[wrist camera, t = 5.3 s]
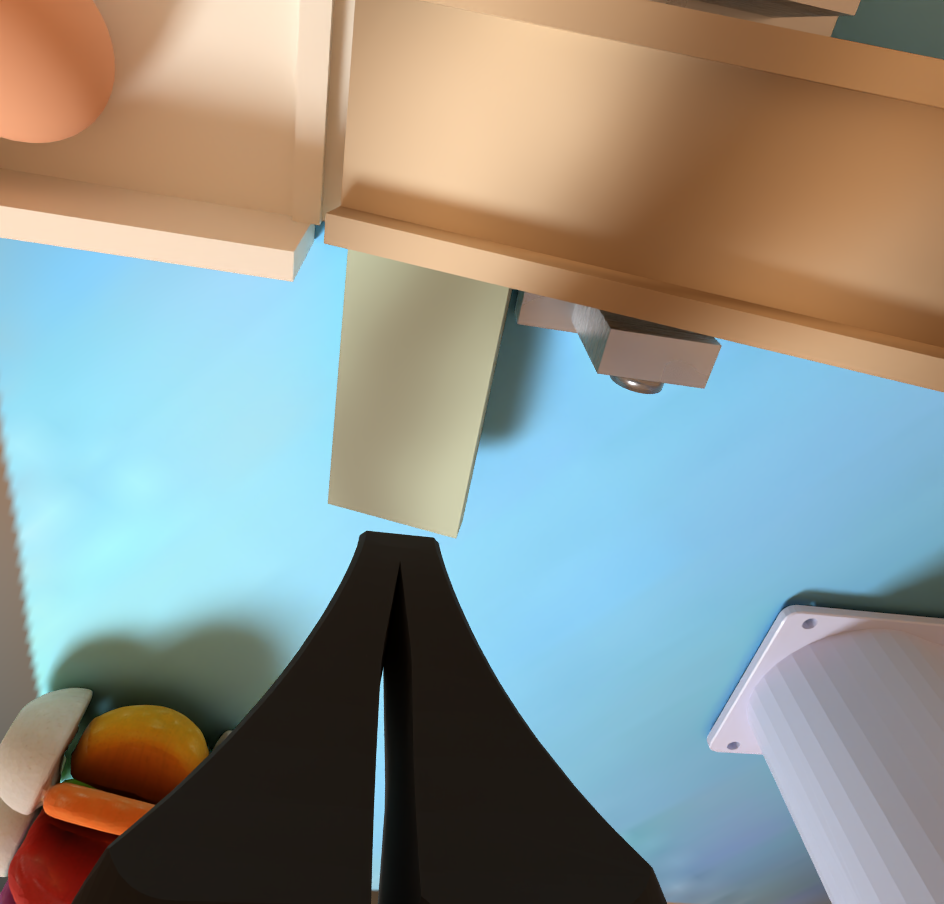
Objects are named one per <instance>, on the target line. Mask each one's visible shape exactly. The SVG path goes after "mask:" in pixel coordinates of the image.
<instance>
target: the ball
mask: <svg viewBox="0 0 944 904" xmlns="http://www.w3.org/2000/svg"><path fill="white" fill-rule="evenodd" d="M114 77H115V58H114V51H113V46H112V42H111V38H110V35H109V32H108V29H107V26H106V24H105V22H104V20H103V18H102V15H101V13H100V12H99V10H98V8H97V7H96V5H95V3H94V2H93V0H0V137H2V138H6V139H9V140H13V141H20V142H27V143H48V142H55V141H60V140H63V139H66V138H69V137H72V136H74V135H76V134H78V133H80V132H81V131H83V130H85V129H86V128H88V127H89V126H90V125H91V124H92V123H93V122H95V120H96V119H97V118H98V117H99V115H100V114H101V113H102V112H103V110H104V108H105V107H106V105H107V103H108V101H109V98H110V95H111V92H112V88H113V84H114Z"/></svg>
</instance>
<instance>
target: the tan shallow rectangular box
mask: <svg viewBox="0 0 944 904" xmlns="http://www.w3.org/2000/svg"><path fill="white" fill-rule="evenodd" d="M93 2H94V3H95V5H96V7H97V8H98V10H99V12H100V13H101V15H102V18H103V20H104V22H105V24H106V26H107V29H108V32H109V35H110V38H111V42H112V46H113V51H114V58H115V77H114V84H113V88H112V92H111V95H110V98H109V101H108V103H107V105H106V107H105V108H104V110H103V112H102V113H101V114H100V115H99V117H98V118H97V119H96V120H95V122H93V123H92V124H91V125H90V126H89V127H88V128H86V129H85V130H83V131H81V132H80V133H78V134H76V135H74V136H72V137H69V138H66V139H63V140H60V141H55V142H48V143H27V142H20V141H13V140H9V139H6V138H2V137H0V237H1V238H8V239H15V240H21V241H28V242H34V243H41V244H48V245H54V246H61V247H68V248H74V249H81V250H87V251H94V252H101V253H107V254H114V255H120V256H127V257H134V258H140V259H147V260H153V261H160V262H167V263H173V264H180V265H187V266H193V267H200V268H206V269H213V270H220V271H226V272H233V273H239V274H246V275H253V276H259V277H266V278H273V279H279V280H286V281H292V282H293V280H294V278H295V277H296V275H297V273H298V271H299V269H300V267H301V265H302V263H303V261H304V259H305V258H306V256H307V254H308V252H309V250H310V248H311V246H312V244H313V242H314V235H315V225H320V224H321V222H322V221H325V217H326V213H327V212H329V211H331V210H333V209H335V208H337V207H339V206H341V193H342V179H343V164H344V150H345V136H346V122H347V108H348V94H349V80H350V66H351V52H352V38H353V24H354V10H355V0H93Z"/></svg>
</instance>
